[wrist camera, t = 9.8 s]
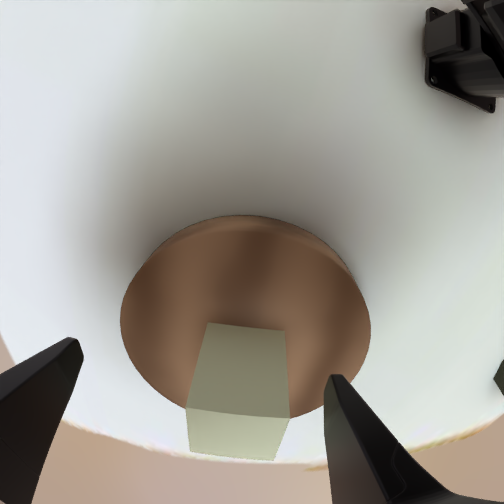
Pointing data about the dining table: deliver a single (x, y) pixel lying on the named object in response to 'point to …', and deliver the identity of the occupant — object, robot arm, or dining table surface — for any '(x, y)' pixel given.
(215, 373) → the sage block
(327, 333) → the walnut base
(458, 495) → the robot arm
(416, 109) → the dining table surface
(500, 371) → the wine bottle
